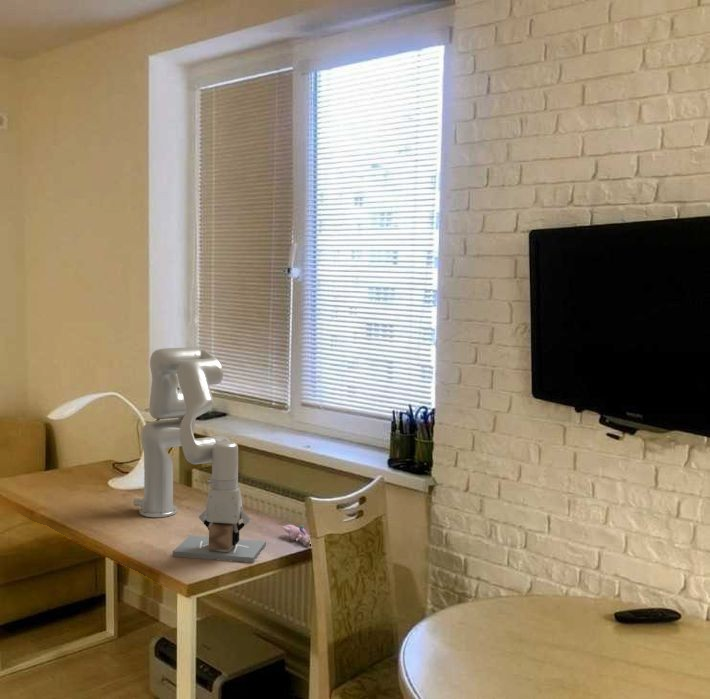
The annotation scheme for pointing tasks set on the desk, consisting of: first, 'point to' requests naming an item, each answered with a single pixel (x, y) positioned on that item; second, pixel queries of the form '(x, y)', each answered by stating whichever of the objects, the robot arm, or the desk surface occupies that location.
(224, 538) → the block
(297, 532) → the pink plastic figure
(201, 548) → the slate board
